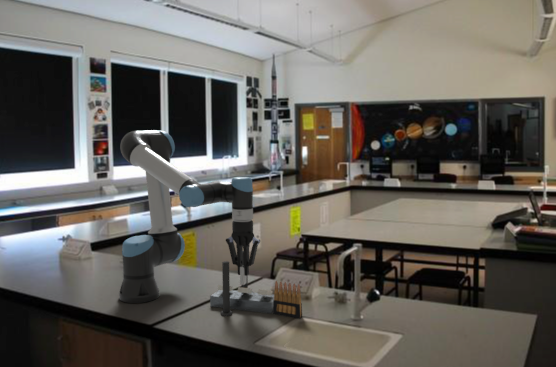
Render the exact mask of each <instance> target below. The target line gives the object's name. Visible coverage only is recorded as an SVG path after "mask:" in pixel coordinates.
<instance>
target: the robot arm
mask: <svg viewBox="0 0 556 367" xmlns="http://www.w3.org/2000/svg"><path fill="white" fill-rule="evenodd" d="M119 149H120V153H121V155H122V157H123V159H125V161H127V162H128V163H129V164H131V165H132V166H133V167H140V168H141V169H142V170H144V172H145V177H146V188H147V197H148V198H147V200H148V207H149V216H150V229H149V230H148V231H147V234H141V235H135V236H131V237H129V238H127V239H125V240H124V241H123V242H122V247H121V249H122V251H121V256H122V274H123V276H122V282H121V286H120V289H119V292H118V298H119V301H121V302H124V303H127V304H128V303H129V304H141V303H149V302H151V301H154V300H157V299H158V298H159V296H160V289H159V286H158V284H157V281H156V278H155V267H158V266H162V265H165V264H171V263H173V262H175V261H176V262H177V261H178V260H179V259H180V258H181V257H182V256H183V255H184V252H185V247H186V244H185V240H184V238H183V237H182V236H183V235H181V233H179V232H178V228H177V227H175V225H174V223H173V213H172V206H171V205H172V204H171V195H170V194H171V193H170V190H171V191H173V192H174V193H175V194H176V195H178V198H179V201H180V202H181V204H182V206H184V207H186V208H197V207H201V206H205V205H210V204H212V205H213V204H217V203H230V204H231V214H232V215H231V219H232V223H231V226H232V227H231V228H232V233H231V236H229V237H227V238H225V242H226V244H227V246H228V250H229V253H230V258H231V264H233V265H235V266H236V267H237V275H238V276H239V285H245V284H246V283H247V275H248V276H249V274H250V272H249V271H250V266H252V265H254V263H255V259H256V255H257V250H258V247H259V244H260V243H261V239H260V238H257V237H255V233H254V220H253V219H254V206H253V202H254V201H253V200H254V199H253V198H254V188H253V179H252V178H251V177H248V176H234V177H232V178H231V181H219V180H210V181H208V182H207V183H199V182H197V181H196V180H195V179H193V178H191V177H190V176H189V175H188V174H186V173H184V172H183V171H181V170H180V169H178V167H176V166H174V165H173V163H171V158H172V156H174V153H175V149H176V145H175V142H174V139H173V137H172V135H170V134H169V132H167V131H165V130H157V129H153V130H152V129H151V130H148V129H147V130H132V131H130V132H127V133H126V134H125V135H124V136H123V137H122V139H121V140H120V148H119ZM251 242H252V246H251V250H250V244H251ZM235 244H236V245H235ZM243 251H244V265H243ZM242 265H243V266H242Z"/></svg>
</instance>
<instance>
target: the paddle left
mask: <svg viewBox="0 0 556 367" xmlns="http://www.w3.org/2000/svg"><path fill="white" fill-rule="evenodd" d="M218 290H222V291H223V284H218V285H217V291H218ZM232 290H233V286H232V285H230V291H232Z"/></svg>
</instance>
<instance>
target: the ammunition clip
mask: <svg viewBox="0 0 556 367" xmlns="http://www.w3.org/2000/svg"><path fill="white" fill-rule="evenodd" d="M273 292H274V293H273V294H274V301H273V313H272V315H277V316H283V317H286V318H287V317H288V318H293V319H298V320H300V319H301V318H303V304H302V294H301V293H302V292H301V286H300V283H298V285H297V287H296V284H295V283H293V285H292V284H291V282H289V283H288V285H287V282H284V283H282V281H279V284H278V280H276V281H275V283H274V291H273Z"/></svg>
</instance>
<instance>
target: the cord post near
mask: <svg viewBox="0 0 556 367" xmlns="http://www.w3.org/2000/svg"><path fill="white" fill-rule="evenodd" d="M221 263H222V267H221V268H222V285H223V308H222V310H221V311H220V316H222V317H229V316H232V315H233V311H232V309H230V286H231V285H230V261H228V260H226V261H222V262H221Z"/></svg>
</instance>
